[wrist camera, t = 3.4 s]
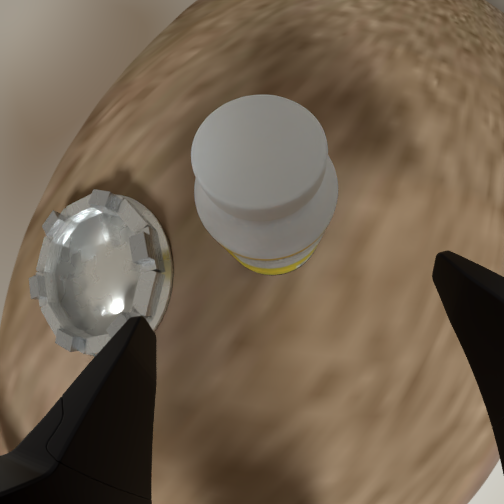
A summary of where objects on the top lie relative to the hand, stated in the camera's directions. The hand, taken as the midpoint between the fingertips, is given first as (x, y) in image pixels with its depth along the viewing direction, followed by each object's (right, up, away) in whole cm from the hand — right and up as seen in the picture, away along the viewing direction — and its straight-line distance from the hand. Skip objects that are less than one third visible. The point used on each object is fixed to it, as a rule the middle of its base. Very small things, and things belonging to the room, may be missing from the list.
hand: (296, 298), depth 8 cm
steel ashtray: (-14, -1, +14) cm, 19 cm away
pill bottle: (0, +3, +13) cm, 13 cm away
